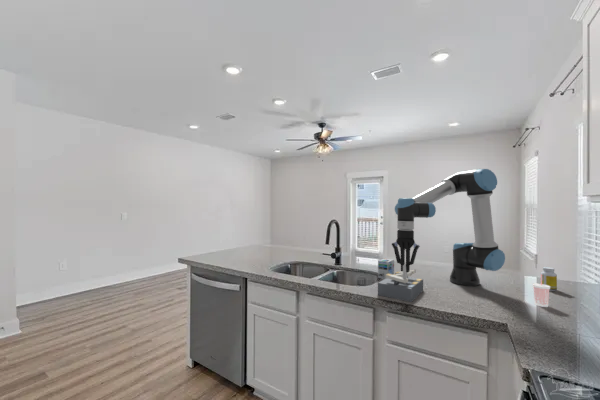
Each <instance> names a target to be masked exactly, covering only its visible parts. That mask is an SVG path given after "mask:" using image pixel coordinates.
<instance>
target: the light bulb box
mask: <svg viewBox="0 0 600 400" xmlns="http://www.w3.org/2000/svg"><path fill="white" fill-rule="evenodd" d="M377 261H378V262H377V265H378V266H377V269H378V270H377V274H378V275H377V278H378V279H382V280H384V279H386V278H385V276H386V274H388V273H389V274H392V275H393V274H395V259H393V258H386V257H385V258H382V259H379V260H377Z"/></svg>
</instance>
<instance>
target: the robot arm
mask: <svg viewBox="0 0 600 400" xmlns="http://www.w3.org/2000/svg"><path fill="white" fill-rule="evenodd" d="M497 186H498V178H497V176H496V174H495V172H493V170H491V169H489V168H477V169H470V170H461V171H458V172H456V173H454V174H452V175H450V176H448V177H446V178H444V179H443V180H441V183H439V184H436V185H435V186H434V187H433V186H432V187H431V188H429V189H427V190H425V191H423V192H422V193H420V194H417V195H415V196H414V197H400V198H399V197H398V199H397V203H396V204H395V206H394V212H395V214H396V215H397V221H396V223H397V224H396V225H397V231H396V236H397V237H396V241H395V242H392V243H391V246H392V248H393V251H394V255H395V256H394V257H395V261H396V263H397V264H399V265H400V272H402V271H403V279H407V272H409V271H410V270H411V269H410V268H411V266H412V265H414V263H415V260H416V256H417V253H418V250H419V248H420V247H421V246H420V244H417V243H416V242H415V231H414V229H415V223H414V222H415V218H427V219H428V218H432V217H434V216H435V214H436V211H437V208H436V205H434V203H435V202H438V201H439V200H441V199H443V198H445V197H446V196H452V195H455V194H457V193H463V192H465V193H466V196H467V197H468V198H470V203H471V204H470V205H471V213H472V222H473V232H474V240H475V241H474V242H456V243H454V244H453V247H452V248H453V249H452V264H453V265H452V270H451V273H450V276H449V281H450V282H452V283H453V284H455V285H456V284H457V285H460V286H462V285H463V286H469V287H471V286H472V287H475V286H479V285H480V283H481V280H480V278H479V274H478V272H477V268H478V269H481V270H486V271H490V272H496V271H499V270H501V269H502V268H503V266H504V264H505V262H506V261H505V260H506V254H505V252H504V251H503V250H501V249H499V244H498V242H496V241H495V237H494V236H495V235H494V226H493V217H492V215H493V214H492V207H491V198H490V197H491V196H492V195H493V191H494V190H495V189H496V188H497ZM412 247H413V249H412ZM411 249H412V254H411ZM399 250H400V252H399Z"/></svg>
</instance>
